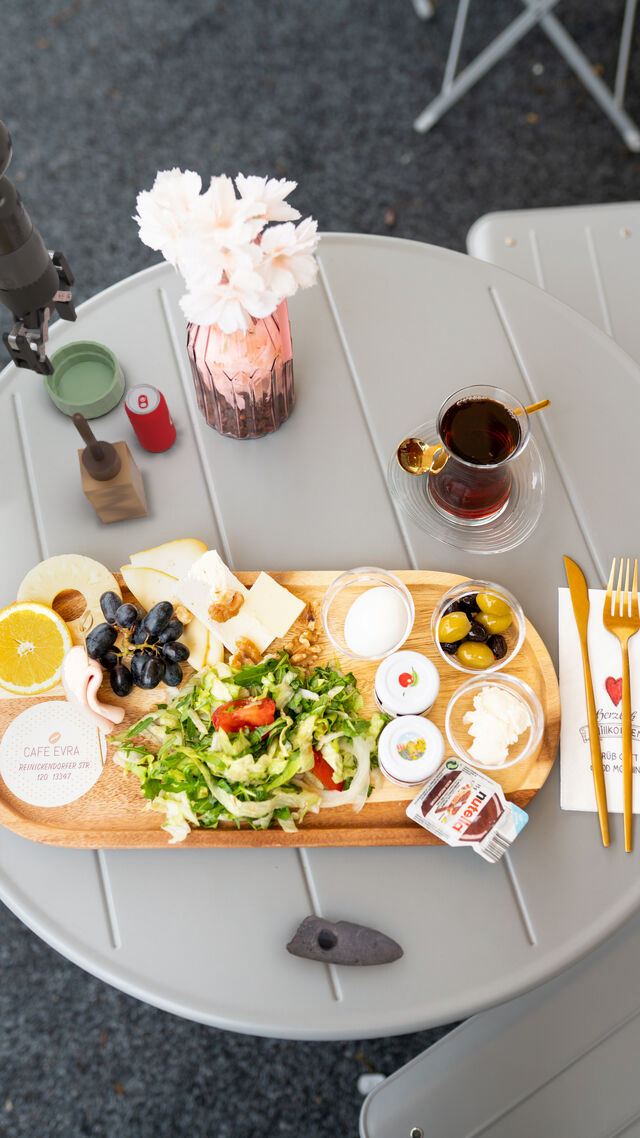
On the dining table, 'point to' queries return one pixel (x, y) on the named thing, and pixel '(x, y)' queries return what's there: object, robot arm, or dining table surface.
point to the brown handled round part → (97, 453)
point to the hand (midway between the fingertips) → (58, 345)
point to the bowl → (85, 379)
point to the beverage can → (150, 418)
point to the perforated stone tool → (343, 943)
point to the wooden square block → (116, 489)
